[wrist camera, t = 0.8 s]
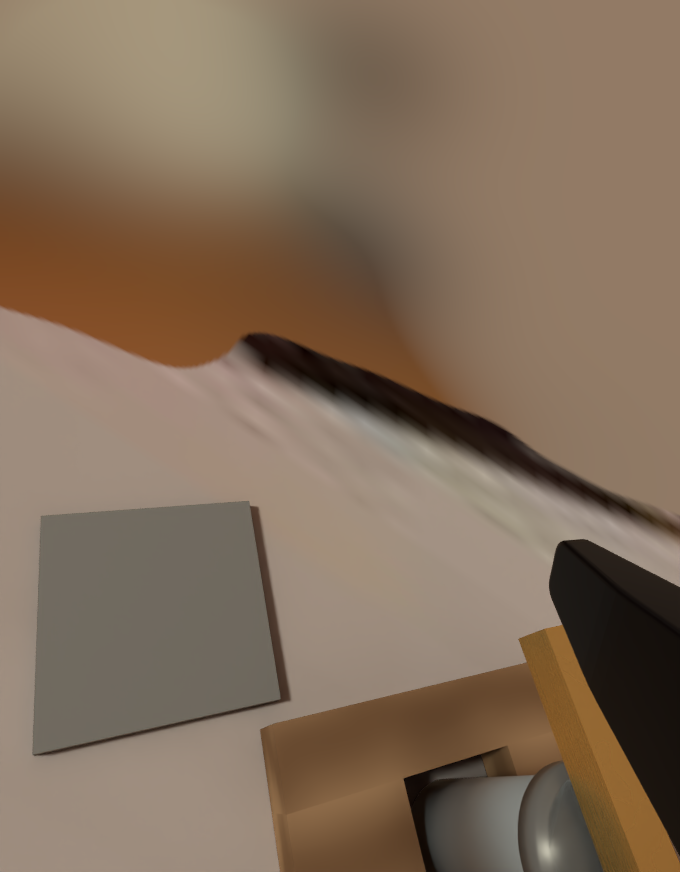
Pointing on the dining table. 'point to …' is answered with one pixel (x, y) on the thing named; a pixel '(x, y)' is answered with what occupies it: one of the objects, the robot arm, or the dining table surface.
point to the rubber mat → (148, 622)
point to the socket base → (392, 766)
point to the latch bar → (596, 762)
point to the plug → (504, 824)
